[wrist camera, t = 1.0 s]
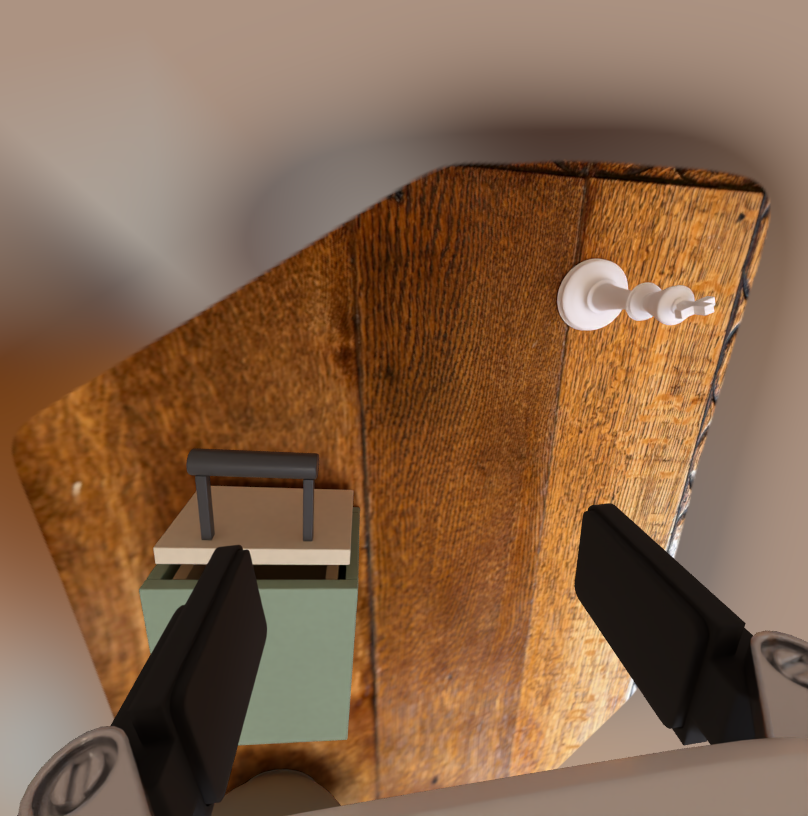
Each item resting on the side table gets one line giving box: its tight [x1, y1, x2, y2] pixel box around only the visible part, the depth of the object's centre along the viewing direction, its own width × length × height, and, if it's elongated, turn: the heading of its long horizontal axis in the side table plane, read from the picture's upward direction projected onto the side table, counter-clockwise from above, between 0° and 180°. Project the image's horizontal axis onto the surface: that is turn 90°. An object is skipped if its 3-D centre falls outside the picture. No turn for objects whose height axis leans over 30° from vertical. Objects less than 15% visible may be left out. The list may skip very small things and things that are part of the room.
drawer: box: [153, 448, 353, 580], centre depth 27 cm, size 20×11×7 cm, turn 175°
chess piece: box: [557, 259, 715, 330], centre depth 22 cm, size 5×5×10 cm
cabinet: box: [139, 507, 360, 745], centre depth 29 cm, size 15×13×9 cm
